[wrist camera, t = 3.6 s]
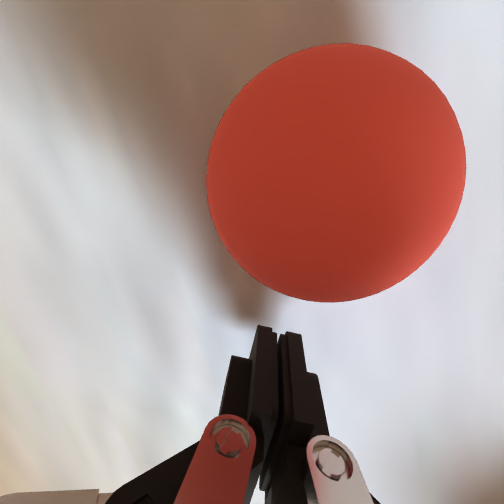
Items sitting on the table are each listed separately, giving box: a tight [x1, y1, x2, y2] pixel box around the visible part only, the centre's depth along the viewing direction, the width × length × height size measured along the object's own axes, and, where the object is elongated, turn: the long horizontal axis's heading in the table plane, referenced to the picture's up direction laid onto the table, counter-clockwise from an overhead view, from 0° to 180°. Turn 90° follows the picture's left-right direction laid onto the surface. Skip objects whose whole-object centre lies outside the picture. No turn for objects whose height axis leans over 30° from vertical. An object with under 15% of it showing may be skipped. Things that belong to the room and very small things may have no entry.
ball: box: [206, 43, 466, 302], centre depth 8 cm, size 6×6×6 cm
